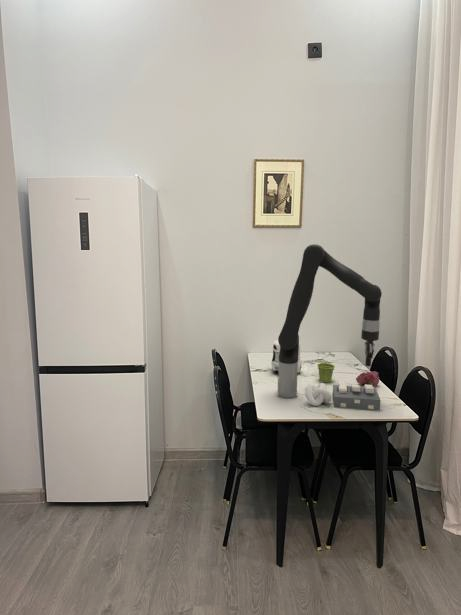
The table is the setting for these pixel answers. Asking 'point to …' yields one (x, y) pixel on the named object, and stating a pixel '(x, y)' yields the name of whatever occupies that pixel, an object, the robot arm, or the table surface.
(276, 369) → the milk container
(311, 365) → the table surface
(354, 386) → the rocker
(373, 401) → the switch unit
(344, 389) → the rocker
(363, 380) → the flower
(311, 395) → the white knot sculpture
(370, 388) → the rocker
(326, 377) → the plant pot
